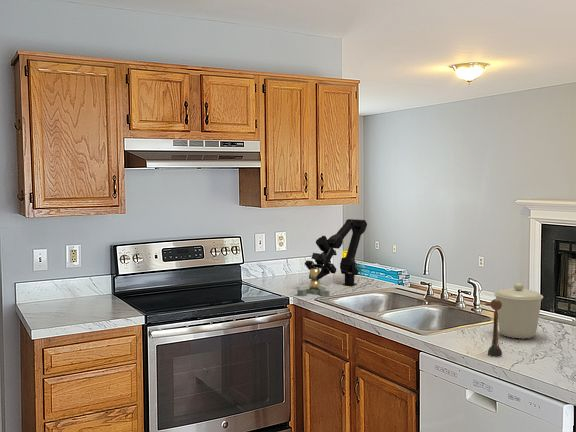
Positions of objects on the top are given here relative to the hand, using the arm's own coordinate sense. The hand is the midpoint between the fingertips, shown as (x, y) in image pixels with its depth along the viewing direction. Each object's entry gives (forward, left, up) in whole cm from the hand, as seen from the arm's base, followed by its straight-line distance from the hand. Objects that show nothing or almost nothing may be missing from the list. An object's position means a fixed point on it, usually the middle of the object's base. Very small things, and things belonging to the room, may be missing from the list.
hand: (313, 279), depth 327 cm
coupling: (-1, 0, -7) cm, 7 cm away
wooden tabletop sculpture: (+69, +107, -8) cm, 128 cm away
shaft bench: (+4, +3, -7) cm, 9 cm away
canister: (+38, +110, -8) cm, 117 cm away
